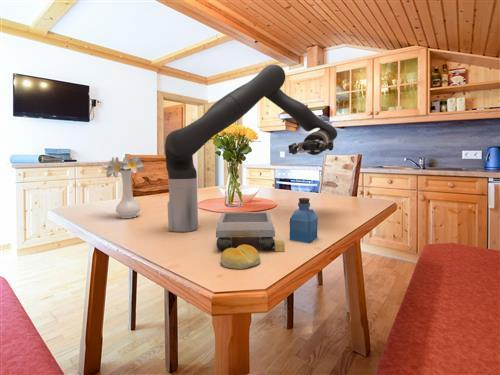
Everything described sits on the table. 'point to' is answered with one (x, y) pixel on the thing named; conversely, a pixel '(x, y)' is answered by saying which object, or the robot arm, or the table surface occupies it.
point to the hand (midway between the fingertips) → (306, 150)
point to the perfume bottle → (303, 223)
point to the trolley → (247, 229)
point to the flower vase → (125, 183)
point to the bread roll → (240, 257)
